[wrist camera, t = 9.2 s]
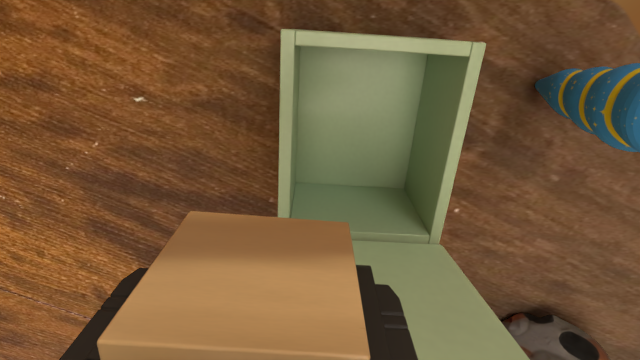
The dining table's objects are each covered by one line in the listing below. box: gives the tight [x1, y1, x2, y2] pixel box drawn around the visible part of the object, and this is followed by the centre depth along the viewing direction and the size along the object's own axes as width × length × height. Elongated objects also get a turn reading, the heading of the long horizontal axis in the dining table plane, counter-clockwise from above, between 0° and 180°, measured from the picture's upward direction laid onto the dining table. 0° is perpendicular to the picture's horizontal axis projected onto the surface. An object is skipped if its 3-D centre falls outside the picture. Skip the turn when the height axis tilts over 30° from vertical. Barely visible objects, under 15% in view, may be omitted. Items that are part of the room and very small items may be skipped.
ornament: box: [535, 63, 640, 152], centre depth 22 cm, size 5×5×15 cm
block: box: [97, 211, 370, 360], centre depth 8 cm, size 4×4×4 cm
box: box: [278, 29, 486, 245], centre depth 26 cm, size 14×12×9 cm
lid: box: [352, 240, 530, 360], centre depth 17 cm, size 14×12×1 cm
